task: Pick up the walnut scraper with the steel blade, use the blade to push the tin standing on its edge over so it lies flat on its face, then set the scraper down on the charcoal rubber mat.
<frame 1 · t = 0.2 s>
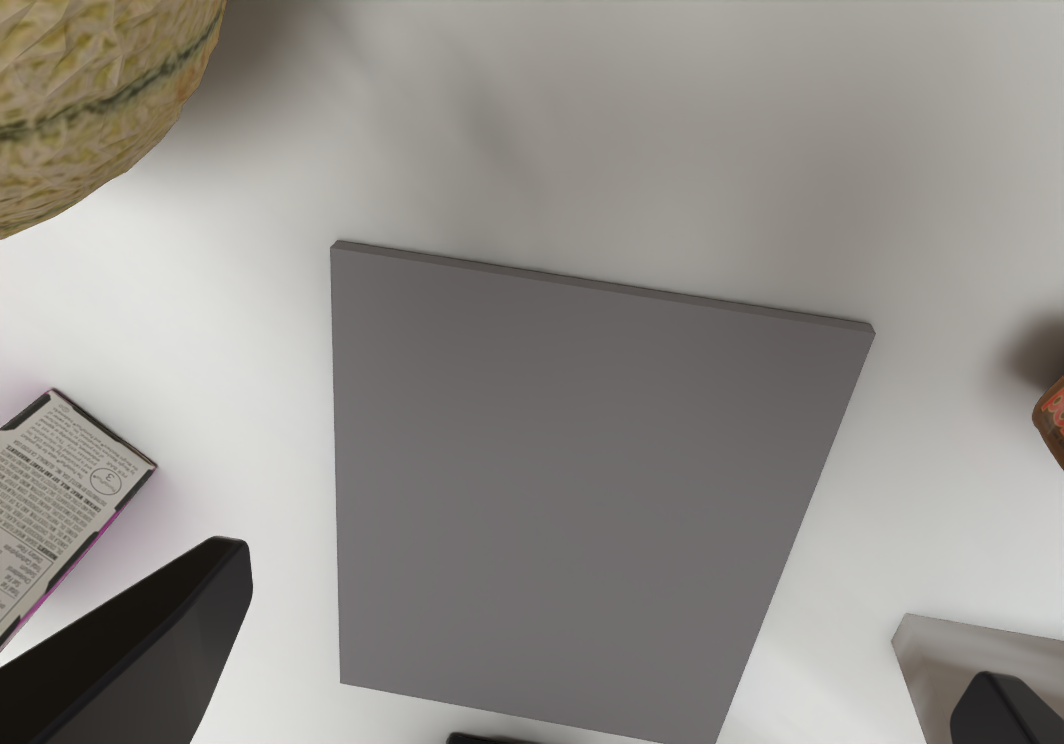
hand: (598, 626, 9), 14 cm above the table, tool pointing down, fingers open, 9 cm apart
tool mat: (555, 532, 28), on the table
candy bar box: (53, 498, 31), on the table
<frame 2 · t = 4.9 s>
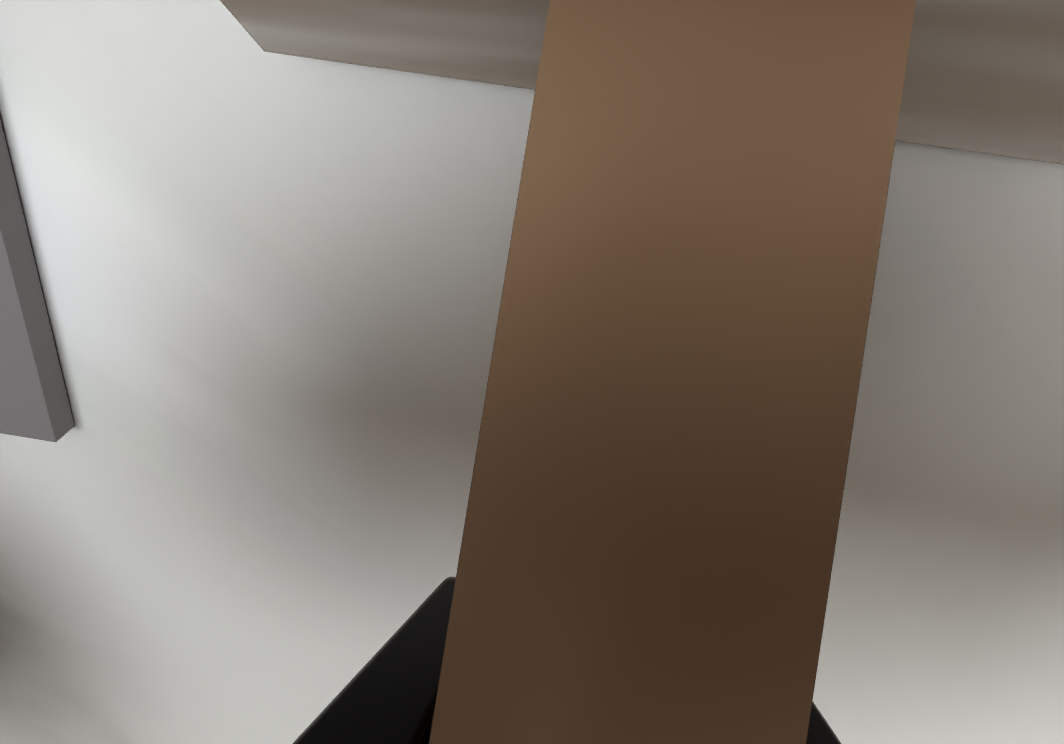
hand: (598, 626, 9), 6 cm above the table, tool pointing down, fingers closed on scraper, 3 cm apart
scraper: (611, 490, 11), point 4 cm above the table, tilted 32°, touching gripper
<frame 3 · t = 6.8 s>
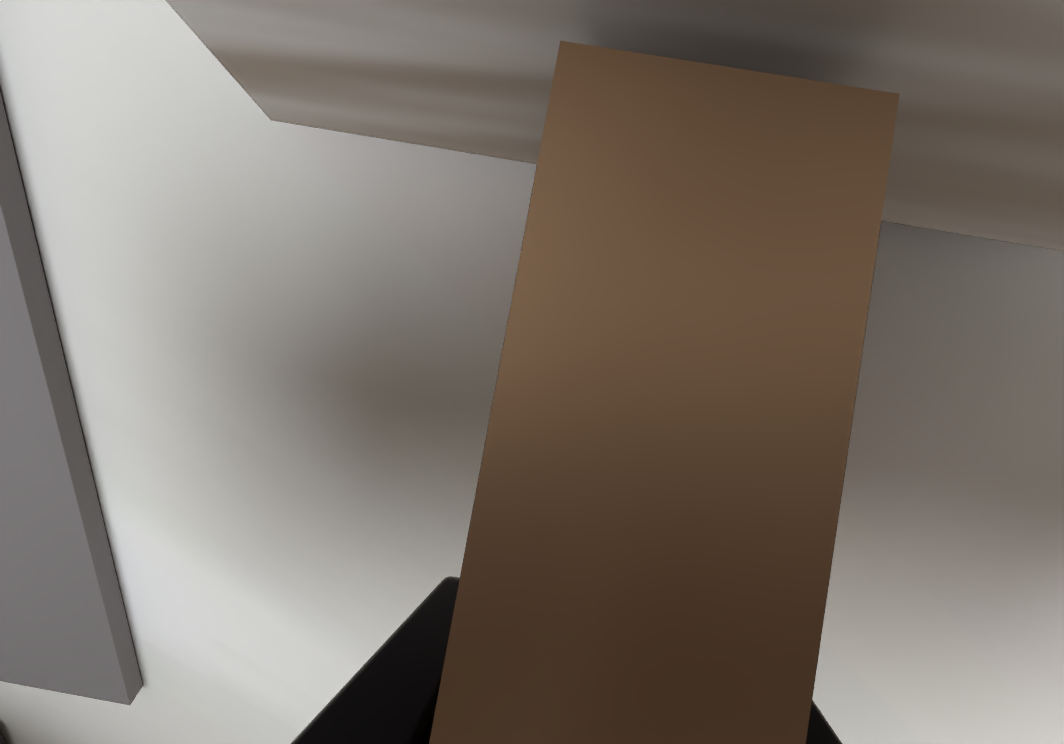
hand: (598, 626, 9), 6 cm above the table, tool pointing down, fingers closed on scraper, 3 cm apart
scraper: (601, 559, 11), point 4 cm above the table, tilted 36°, touching gripper, tin
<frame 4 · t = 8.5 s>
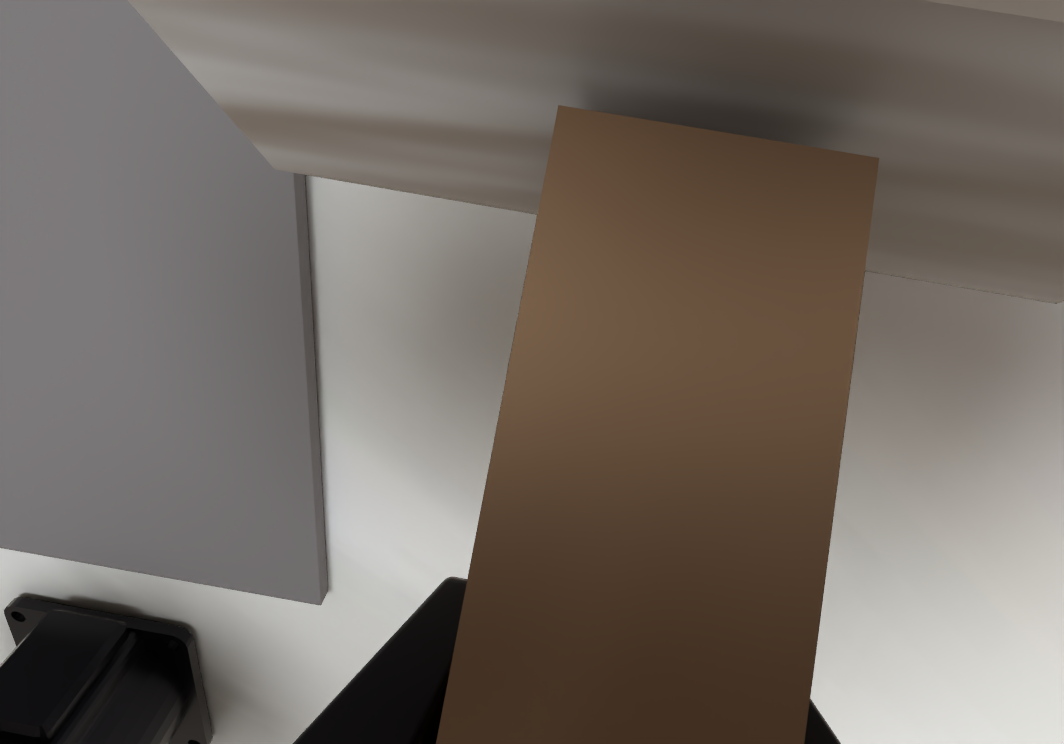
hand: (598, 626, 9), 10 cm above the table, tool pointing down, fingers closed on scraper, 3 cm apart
scraper: (594, 601, 11), point 8 cm above the table, tilted 39°, touching gripper
tool mat: (7, 259, 19), on the table
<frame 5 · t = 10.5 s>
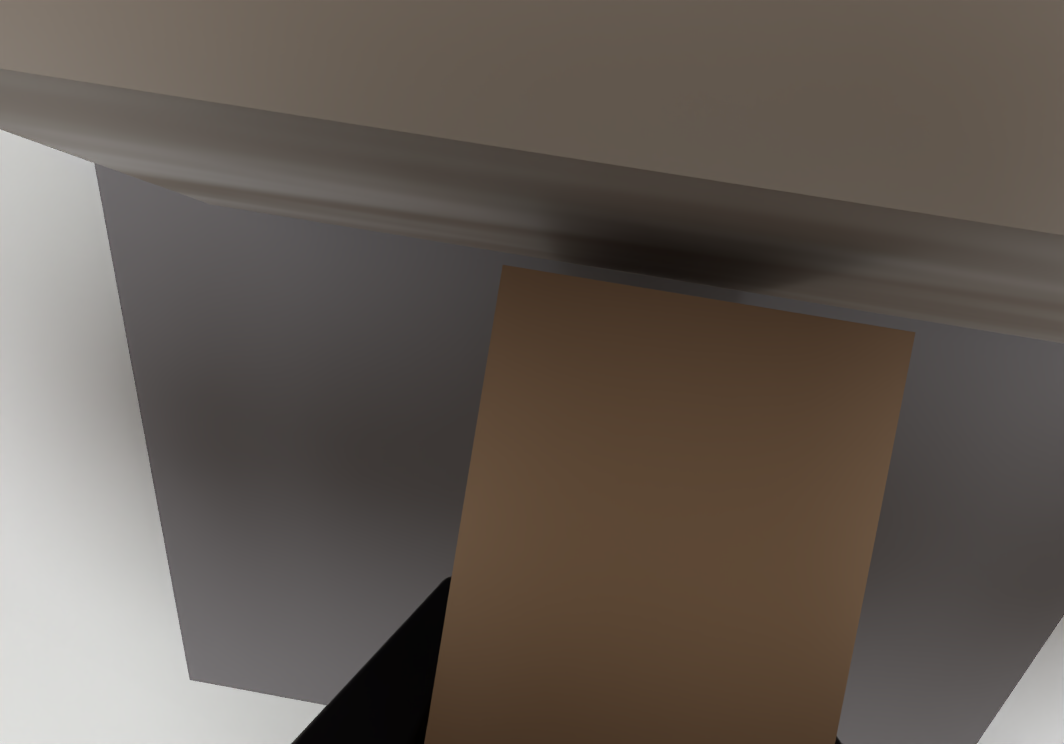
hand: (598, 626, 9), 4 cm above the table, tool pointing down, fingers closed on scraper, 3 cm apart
scraper: (582, 681, 10), point 4 cm above the table, tilted 28°, touching gripper, tool mat
tool mat: (632, 320, 12), on the table
when the fingers open (2 cm above the table, at t = 11.5 s): scraper drops 2 cm, resting on tool mat.
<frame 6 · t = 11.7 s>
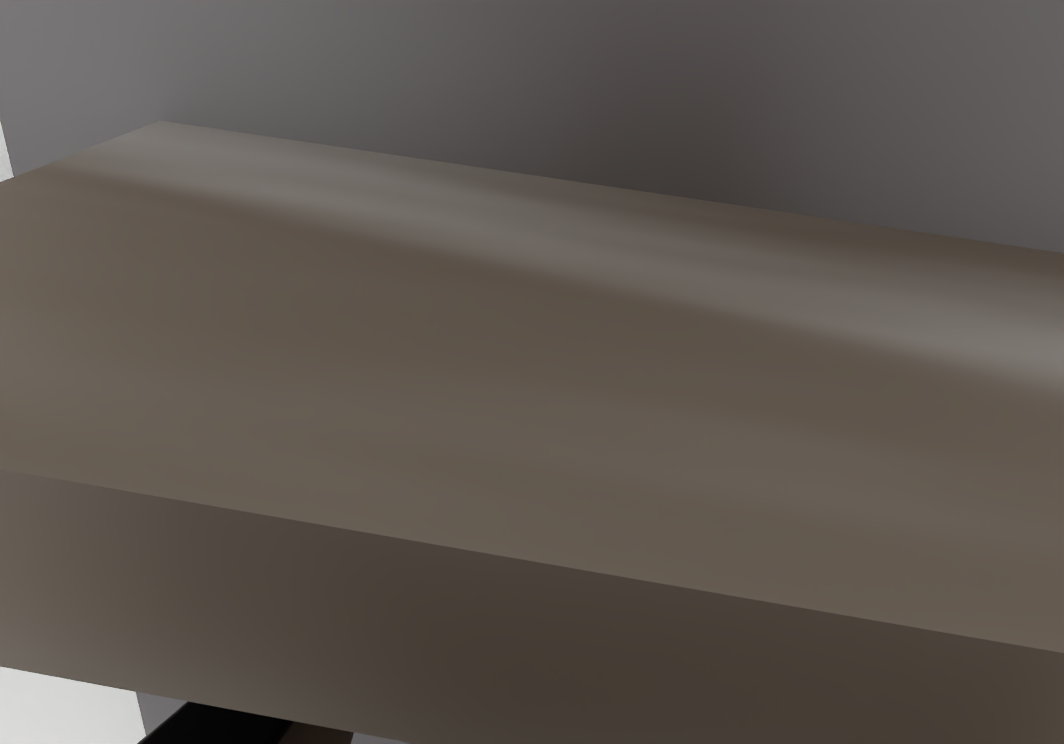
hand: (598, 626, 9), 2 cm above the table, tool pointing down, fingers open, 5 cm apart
scraper: (583, 624, 12), point 1 cm above the table, touching tool mat
tool mat: (628, 383, 11), on the table
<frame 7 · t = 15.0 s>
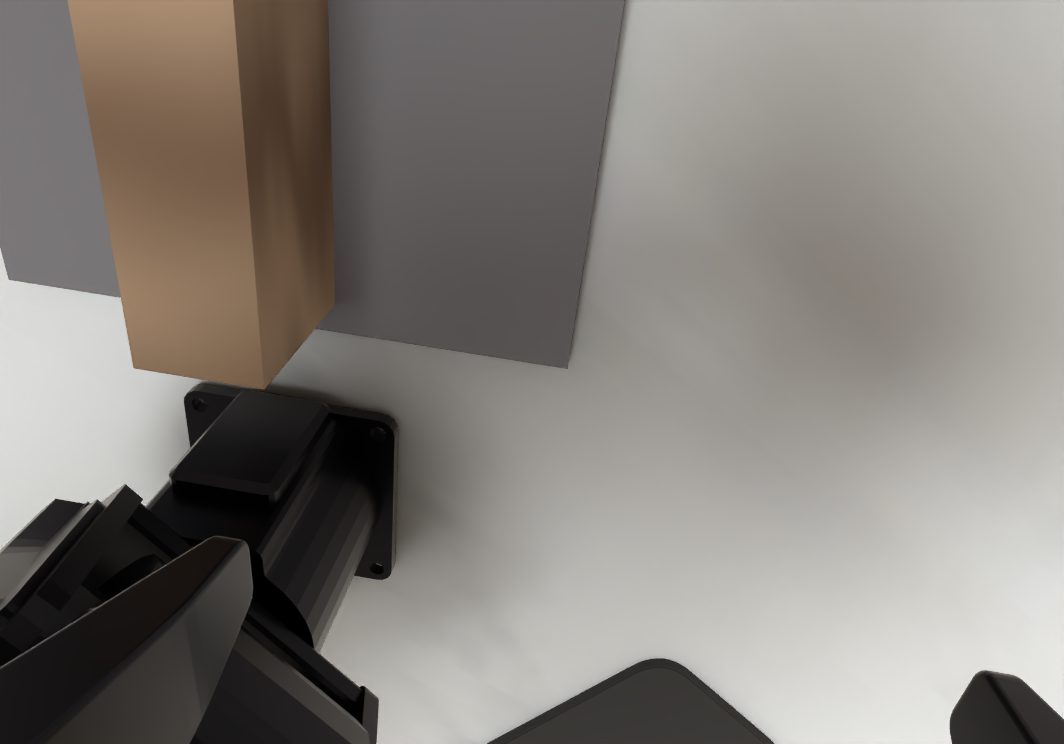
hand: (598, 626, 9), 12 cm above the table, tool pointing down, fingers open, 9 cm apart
scraper: (269, 106, 18), point 1 cm above the table, touching tool mat
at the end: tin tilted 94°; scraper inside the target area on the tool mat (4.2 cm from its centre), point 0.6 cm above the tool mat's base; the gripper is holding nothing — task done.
